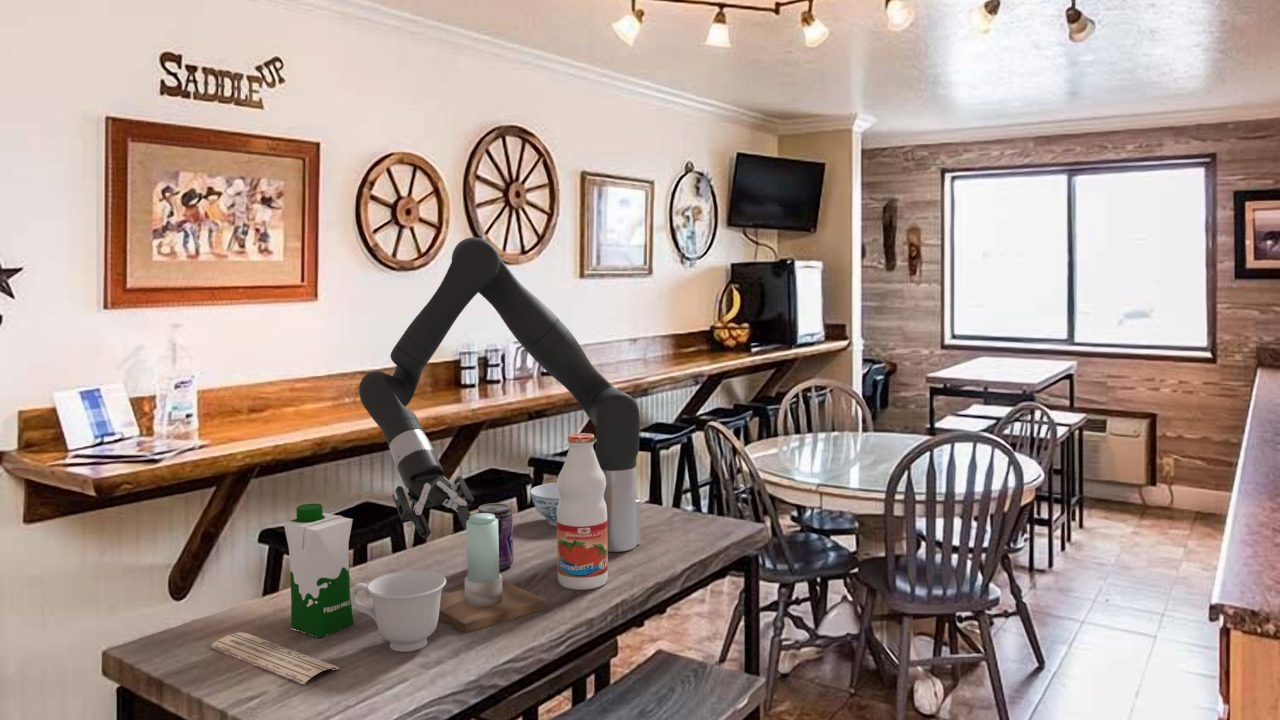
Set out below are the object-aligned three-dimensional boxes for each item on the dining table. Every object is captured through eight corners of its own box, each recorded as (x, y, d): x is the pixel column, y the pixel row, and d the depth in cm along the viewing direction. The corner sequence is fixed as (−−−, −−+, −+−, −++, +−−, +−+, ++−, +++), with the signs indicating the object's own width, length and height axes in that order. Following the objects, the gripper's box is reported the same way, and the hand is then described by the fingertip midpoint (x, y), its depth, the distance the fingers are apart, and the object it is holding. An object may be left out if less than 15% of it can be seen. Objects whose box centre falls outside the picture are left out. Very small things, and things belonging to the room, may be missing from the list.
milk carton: (326, 613, 157) (321, 498, 155) (362, 623, 152) (358, 506, 150) (282, 630, 149) (277, 510, 148) (319, 642, 145) (314, 518, 143)
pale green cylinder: (488, 570, 162) (486, 510, 161) (505, 577, 158) (504, 516, 157) (461, 577, 158) (460, 516, 157) (478, 585, 154) (477, 522, 153)
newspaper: (211, 652, 143) (210, 641, 143) (252, 637, 149) (252, 626, 149) (305, 690, 130) (305, 678, 130) (346, 672, 136) (346, 660, 135)
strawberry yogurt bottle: (607, 573, 177) (606, 430, 174) (607, 590, 167) (606, 439, 165) (558, 574, 176) (557, 430, 174) (556, 591, 167) (554, 440, 164)
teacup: (365, 629, 150) (363, 569, 149) (455, 629, 149) (454, 570, 148) (338, 660, 138) (336, 596, 137) (437, 661, 137) (435, 596, 136)
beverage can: (506, 573, 177) (505, 512, 176) (471, 571, 179) (470, 510, 177) (518, 561, 184) (517, 503, 183) (484, 559, 185) (483, 501, 184)
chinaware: (517, 523, 212) (516, 490, 211) (563, 510, 223) (563, 479, 222) (563, 535, 202) (562, 501, 201) (609, 521, 213) (608, 488, 212)
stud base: (500, 587, 169) (500, 558, 169) (545, 608, 159) (544, 577, 158) (422, 609, 158) (421, 578, 158) (465, 632, 148) (464, 600, 148)
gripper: (387, 452, 166) (420, 527, 159) (455, 442, 176) (489, 513, 169) (374, 476, 171) (406, 550, 163) (441, 465, 180) (474, 534, 173)
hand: (448, 531), depth 166 cm, fingers open, 8 cm apart
